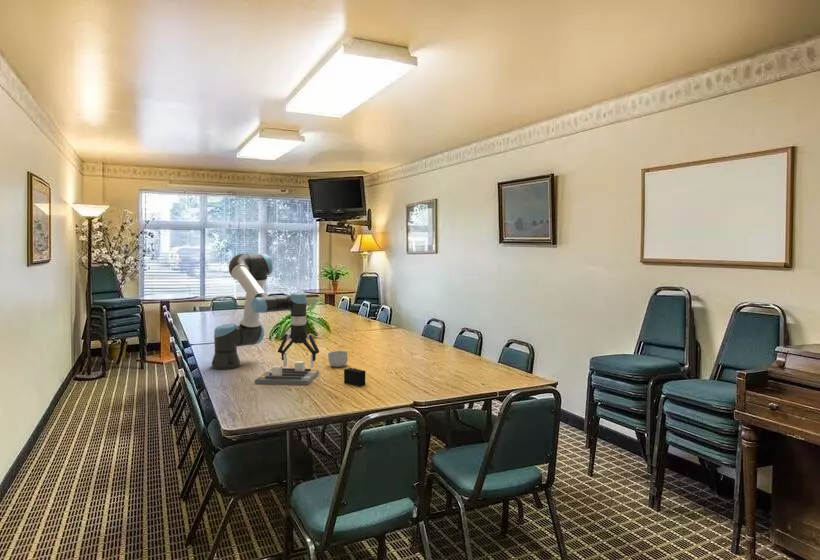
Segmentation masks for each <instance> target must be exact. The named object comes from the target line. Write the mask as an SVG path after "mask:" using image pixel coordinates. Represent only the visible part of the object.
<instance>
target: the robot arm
mask: <svg viewBox="0 0 820 560" xmlns="http://www.w3.org/2000/svg"><path fill="white" fill-rule="evenodd" d="M228 272H229V275H230V276H231V277H232V278H233V279H234V280H236V281H237V282H238V284H239V285H240V286H241V287H242V288H243V290H244V291H245V299H244V307H243V308H244V309H243V318H242V319H241V320H239V325H237V324H236V323H225V324H222V325H218V326H216V327H215V328H214V334H213V338H214V341H213V342H214V355H213V358H212V362H211V368H212V369H214V370H231V369H236V368H240V367H241V360H240V357H239V355H238V351H237V349H238V347H245V346H254V345H258V344H260V343H262V341H263V339H264V336H265V329H264V326H263V325H262V322H261V321H260V315H261V314H263V313H264V314H265V313H273V312H274V313H275V312H284V311H285V312H286V311H289V312H290V324H291V325H290V334H289V333H284V335H283V340H282V341H281V344H280V346H279V347H278V350H277V352H278V353H280V354H281V360H282V361H283V368H286V367H287V366H288V362H287V358H288V356H287V354H288V353H287V351H288V349H290V347H291V346H292V345H293V344H300V345H301V344H303V345H304V346H305V348H307V350H308V351H309V352H310V353H311V354H310V369H314V362H315V361H316V358H317V357H316V355H317V354H319V353H320V349H319V347H318V345H317V344H316V341H315V339H314V335H313V334H312V333H311V334H308V333H307V304H308V303H307V302H308V300H307V295H306V293H305V292H292V293H291V294H290V295H289V294H282V295H279V296H275V295H274V296H269V295H268V294H267V293H266V291H265V290H264V283H265V281H266V280H268V276H270V275H271V274H272V273H273V262H272V259H271V257H270V256H269V255H268V254H265V253H241V254H240V253H239V254H237V255H235V256H234V257H232V258H231V260H230V261H229V263H228ZM289 338H290V339H291V340H290V341H289V342H288V343H287V341H288V339H289ZM307 338H308V340H309V342H310V343H309V342H308V340H307ZM286 343H287V345H286ZM285 345H286V346H285Z"/></svg>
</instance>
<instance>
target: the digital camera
mask: <svg viewBox="0 0 820 560" xmlns="http://www.w3.org/2000/svg"><path fill="white" fill-rule="evenodd" d="M343 377H344V378H343V383H344V384H347V385H350V386H356V387H363V386H366V370H364V369H358V368H356V367H354V368H352V367H349V368H344V369H343Z"/></svg>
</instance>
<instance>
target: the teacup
mask: <svg viewBox="0 0 820 560" xmlns="http://www.w3.org/2000/svg"><path fill="white" fill-rule="evenodd" d="M327 358H328V364H329V365H330V366H331V367H333V368H341V367H342V368H343V367H345V365H346V364H347V363H348V351H347V350H333V351H329V352H327Z"/></svg>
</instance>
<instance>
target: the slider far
mask: <svg viewBox="0 0 820 560" xmlns="http://www.w3.org/2000/svg"><path fill="white" fill-rule="evenodd" d="M305 363H306V361H304V360H303V361H301V360H300V361H299V360H297V361H295V362H294V368H295V371H305V369H306V368H305V367H306V365H305Z"/></svg>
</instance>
